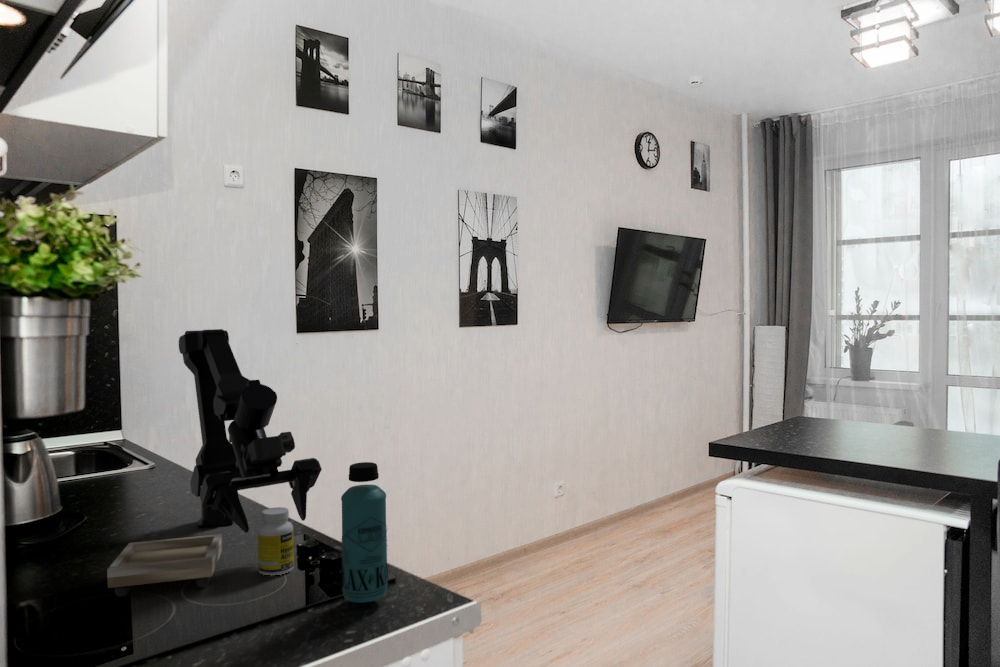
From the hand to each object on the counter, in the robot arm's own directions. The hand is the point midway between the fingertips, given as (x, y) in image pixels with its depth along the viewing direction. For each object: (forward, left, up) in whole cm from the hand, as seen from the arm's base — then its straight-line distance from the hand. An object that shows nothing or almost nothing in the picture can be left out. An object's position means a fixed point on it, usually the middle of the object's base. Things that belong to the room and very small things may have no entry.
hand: (276, 525), depth 109 cm
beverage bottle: (+17, +13, -8) cm, 22 cm away
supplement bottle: (0, 0, -8) cm, 8 cm away
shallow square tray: (-1, -16, -7) cm, 18 cm away
